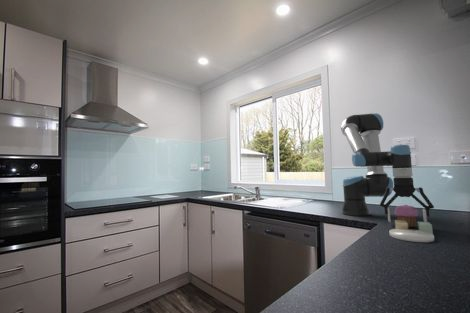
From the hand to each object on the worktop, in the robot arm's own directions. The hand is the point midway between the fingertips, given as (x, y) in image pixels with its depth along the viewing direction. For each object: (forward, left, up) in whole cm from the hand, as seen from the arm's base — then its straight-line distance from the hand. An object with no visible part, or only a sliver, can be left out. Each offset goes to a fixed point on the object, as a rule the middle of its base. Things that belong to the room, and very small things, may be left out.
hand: (406, 222), depth 105 cm
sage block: (+10, +5, -2) cm, 11 cm away
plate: (+20, -1, -2) cm, 20 cm away
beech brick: (+10, -3, -2) cm, 11 cm away
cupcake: (0, 0, -2) cm, 2 cm away
